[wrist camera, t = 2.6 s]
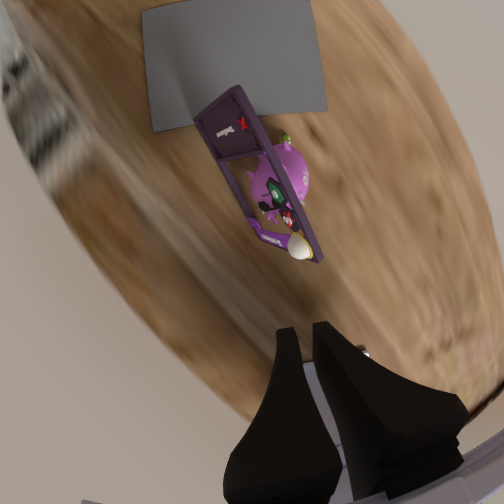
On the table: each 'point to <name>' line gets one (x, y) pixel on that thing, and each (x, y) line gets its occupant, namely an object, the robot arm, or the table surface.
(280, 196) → the purple monster photo frame
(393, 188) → the table surface
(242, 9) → the mat
